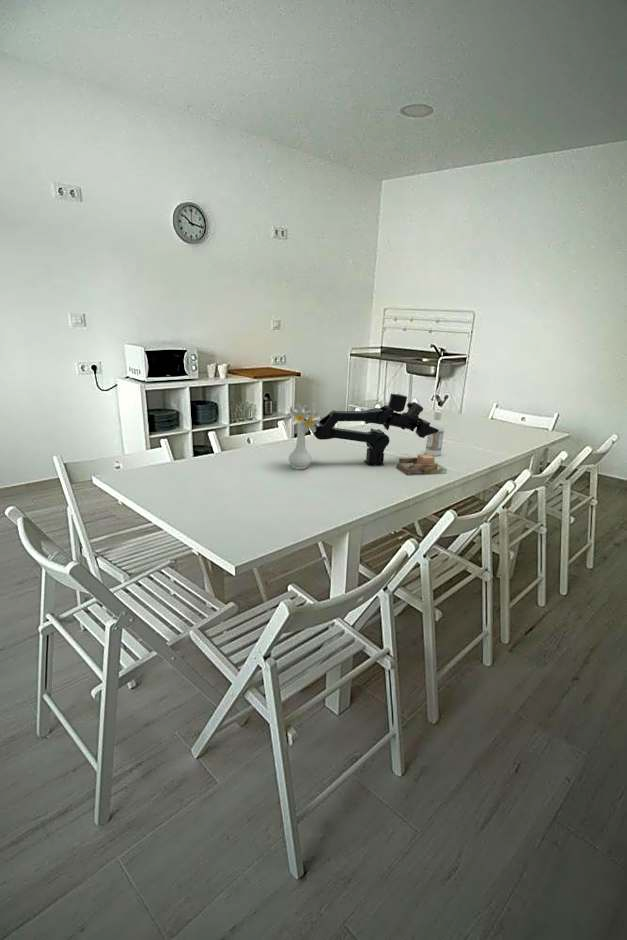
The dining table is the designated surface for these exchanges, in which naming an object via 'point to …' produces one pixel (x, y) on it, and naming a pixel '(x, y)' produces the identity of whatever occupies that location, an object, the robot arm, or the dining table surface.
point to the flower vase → (302, 434)
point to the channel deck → (419, 467)
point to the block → (425, 459)
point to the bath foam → (435, 436)
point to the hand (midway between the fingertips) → (433, 427)
